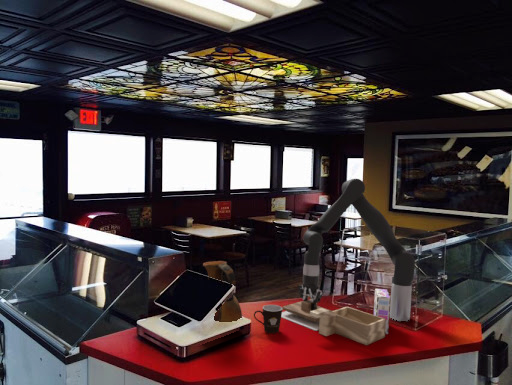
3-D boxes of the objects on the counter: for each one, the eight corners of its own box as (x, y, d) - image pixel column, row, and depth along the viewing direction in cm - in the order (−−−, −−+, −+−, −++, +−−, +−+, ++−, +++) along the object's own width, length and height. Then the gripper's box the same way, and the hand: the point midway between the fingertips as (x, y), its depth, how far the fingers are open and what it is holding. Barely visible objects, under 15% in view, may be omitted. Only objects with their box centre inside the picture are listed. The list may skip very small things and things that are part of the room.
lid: (302, 305, 218) (303, 293, 218) (336, 317, 203) (337, 304, 202) (281, 311, 208) (282, 298, 208) (316, 324, 193) (316, 310, 192)
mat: (302, 307, 221) (302, 306, 221) (342, 321, 203) (343, 320, 203) (275, 315, 208) (275, 314, 208) (315, 331, 190) (315, 330, 190)
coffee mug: (283, 328, 191) (284, 306, 190) (278, 335, 183) (279, 312, 182) (258, 324, 194) (259, 302, 194) (252, 331, 186) (253, 308, 186)
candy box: (388, 334, 189) (390, 297, 188) (374, 332, 191) (376, 296, 190) (385, 323, 203) (387, 289, 202) (372, 322, 204) (374, 287, 203)
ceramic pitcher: (215, 319, 199) (218, 254, 197) (251, 330, 187) (254, 262, 185) (185, 331, 183) (187, 261, 181) (221, 344, 171) (224, 270, 169)
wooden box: (346, 323, 201) (347, 306, 200) (384, 337, 186) (386, 318, 186) (318, 333, 187) (319, 315, 187) (358, 349, 173) (359, 329, 172)
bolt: (321, 311, 187) (321, 307, 187) (329, 313, 184) (329, 310, 184) (309, 315, 182) (309, 311, 182) (317, 317, 179) (317, 314, 179)
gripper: (294, 271, 207) (292, 306, 208) (317, 277, 196) (315, 314, 198) (304, 269, 212) (303, 303, 213) (328, 275, 202) (326, 311, 203)
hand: (309, 308), depth 205 cm, fingers closed on lid, 4 cm apart
